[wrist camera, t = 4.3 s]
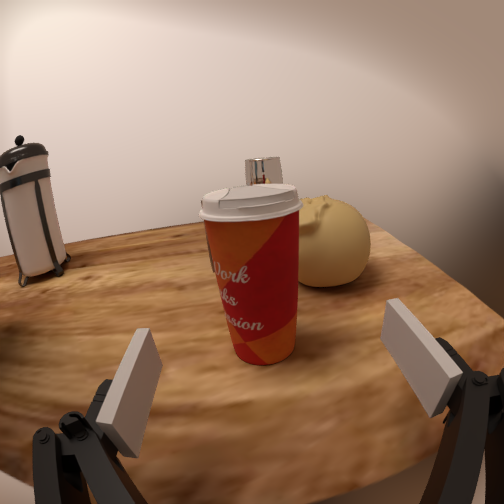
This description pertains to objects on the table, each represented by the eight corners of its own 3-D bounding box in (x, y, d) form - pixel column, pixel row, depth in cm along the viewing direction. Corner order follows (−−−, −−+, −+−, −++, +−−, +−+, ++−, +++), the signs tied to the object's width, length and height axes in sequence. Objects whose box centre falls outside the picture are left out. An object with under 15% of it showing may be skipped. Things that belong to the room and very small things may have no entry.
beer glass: (255, 229, 61) (248, 159, 56) (287, 228, 60) (282, 156, 54) (248, 240, 55) (239, 161, 50) (284, 239, 53) (278, 157, 48)
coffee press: (90, 260, 53) (66, 120, 43) (31, 293, 40) (-3, 131, 29) (57, 255, 60) (35, 140, 50) (8, 280, 47) (-19, 153, 36)
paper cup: (217, 331, 28) (193, 191, 23) (289, 315, 30) (280, 179, 25) (232, 384, 21) (200, 207, 16) (321, 360, 22) (322, 190, 18)
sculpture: (286, 259, 44) (282, 189, 40) (364, 260, 41) (365, 188, 37) (271, 296, 34) (263, 207, 30) (372, 298, 30) (378, 205, 27)
